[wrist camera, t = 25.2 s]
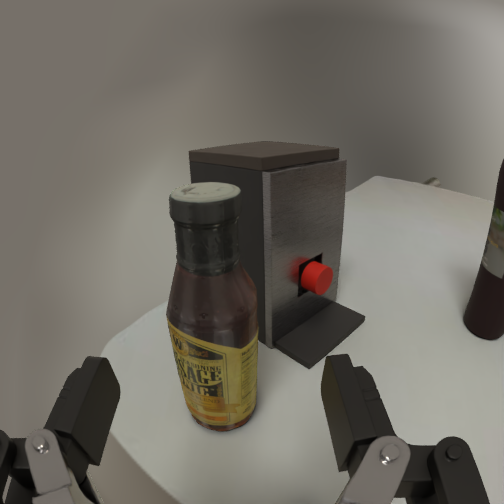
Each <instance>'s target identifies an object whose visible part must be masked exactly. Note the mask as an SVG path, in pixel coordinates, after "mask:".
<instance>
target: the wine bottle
mask: <svg viewBox="0 0 504 504" xmlns="http://www.w3.org/2000/svg"><path fill="white" fill-rule="evenodd" d="M464 321H465V324H466V326H467V327H468V328H469V330H471V331H472V332H473V333H474V334H476V335H478V336H479V337H482V338H485V339H497V338H499V337H501V336H502V335H503V333H504V159H503V162H502V165H501V168H500V172H499V178H498V183H497V189H496V196H495V202H494V207H493V213H492V218H491V223H490V228H489V232H488V237H487V241H486V245H485V249H484V253H483V257H482V261H481V264H480V268H479V271H478V275H477V278H476V281H475V284H474V288H473V291H472V294H471V297H470V300H469V303H468V305H467V308H466V311H465V315H464Z"/></svg>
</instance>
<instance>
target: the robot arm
mask: <svg viewBox="0 0 504 504" xmlns="http://www.w3.org/2000/svg"><path fill="white" fill-rule="evenodd" d="M321 396H322V401H323V405H324V409H325V413H326V417H327V422H328V426H329V430H330V435H331V439H332V443H333V448H334V452H335V456H336V461H337V465H338V470H339V472H341V471H346V470H348V473H349V477H350V479H349V481H348V483H347V485H346V486H345V488H344V490H343V491H342V493H341V495H340V496H339V498H338V499H337V501H336V503H335V504H391V502H392V500H393V498H406V502H407V504H490V503H489V500H488V497H487V494H486V491H485V488H484V485H483V482H482V479H481V476H480V474H479V471H478V468H477V465H476V463H475V460H474V458H473V455H472V453H471V450H470V448H469V446H468V444H467V443H466V442H465V441H464V440H463V439H461V438H458V437H446V438H444V439H442V440H441V441H440V442H439V443H438V444H437V445H434V446H419V445H410V444H407V443H406V442H405V441H404V440H402V439H401V438H399V437H397V435H396V434H395V432H394V430H393V428H392V425H391V422H390V420H389V417H388V415H387V412H386V409H385V407H384V404H383V402H382V399H380V394H379V392H378V389H376V385H375V382H374V380H373V377H372V375H371V374H370V373H369V372H368V371H367V370H366V369H365V368H364V367H363V366H359V367H353V365H352V362H351V360H350V357H349V355H348V354H340V355H331V356H327V357H326V360H325V365H324V371H323V376H322V381H321ZM119 399H120V385H119V383H118V380H117V378H116V376H115V374H114V372H113V369H112V367H111V365H110V363H109V361H108V359H107V358H103V357H92V356H88V357H87V358H86V359H85V361H84V363H83V365H82V367H81V368H77V369H76V370H74V371H73V372H72V373H71V374H70V375H69V376H68V378H67V380H66V382H65V384H64V386H63V389H62V390H61V392H60V394H59V397H58V398H57V400H56V403H55V405H54V407H53V409H52V411H51V413H50V416H49V418H48V420H47V422H46V425H45V427H44V428H43V429H38V430H35V431H33V432H32V433H31V434H30V435H29V436H28V437H27V438H9V437H8V436H7V434H6V433H5V432H4V431H2V430H0V504H104V503H103V501H102V499H101V497H100V495H99V493H98V491H97V489H96V487H95V485H94V483H93V481H92V479H91V476H90V474H89V472H88V471H87V469H88V465H89V464H92V465H97V466H99V465H100V462H101V458H102V454H103V451H104V447H105V444H106V441H107V437H108V434H109V431H110V427H111V424H112V421H113V418H114V414H115V411H116V408H117V405H118V402H119ZM8 475H9V476H10V477H12V479H11V483H10V486H9V489H8V493H7V497H6V500H5V503H3V499H2V496H3V492H4V488H5V485H6V482H7V479H8Z"/></svg>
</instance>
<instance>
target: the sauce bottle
mask: <svg viewBox="0 0 504 504" xmlns="http://www.w3.org/2000/svg"><path fill="white" fill-rule="evenodd" d="M169 204H170V207H169V208H170V216H171V218H172V220H173V221H174V226H175V233H176V243H177V255H176V258H177V263H176V268H175V272H174V277H173V282H172V287H171V292H170V297H169V302H168V307H167V313H166V316H167V321H168V328H169V332H170V337H171V341H172V346H173V351H174V356H175V361H176V365H177V369H178V374H179V377H180V381H181V385H182V389H183V393H184V397H185V401H186V404H187V407H188V409H189V411H190V412H191V413H192V417H193V418H194V419H195V420H196V421H197V423H198V424H200V425H202V426H204V427H206V428H209V429H211V430H216V431H228V430H231V429H234V428H237V427H239V426H242V425H243V424H245V423H246V422H247V420H248V419H249V418H250V417H251V415H252V412H253V409H254V407H255V403H256V388H257V354H258V322H257V306H258V304H257V289H256V287H255V285H254V283H253V281H252V279H251V278H250V277H249V275H248V273H247V272H246V271H245V269H244V268H243V267H242V264H241V261H240V255H241V252H240V249H239V234H238V232H239V231H238V218H239V216H240V213H241V211H242V197H241V190H240V188H239V187H237V186H235V185H232V184H227V183H220V182H206V183H193V184H188V185H184V186H181V187H179V188H176V189H175V190H174V191H172V192H171V194H170V197H169Z"/></svg>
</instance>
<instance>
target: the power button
mask: <svg viewBox="0 0 504 504" xmlns="http://www.w3.org/2000/svg"><path fill="white" fill-rule="evenodd" d="M332 278H333V270H332V269H331V268H330V267H328V266H326V265H323V264H321V263H318V262H316V261H313V262H310V263H309V264H308V265H307V266H306V267H305V269H304V271H303V273H302V276H301V285H302V287H303V288H304V289H307V290H309V291H311V292H313V293H315V294H317V295H322V294H324V293H325V292H326V291H327V290H328V288H329V286H330V284H331V282H332Z"/></svg>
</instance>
